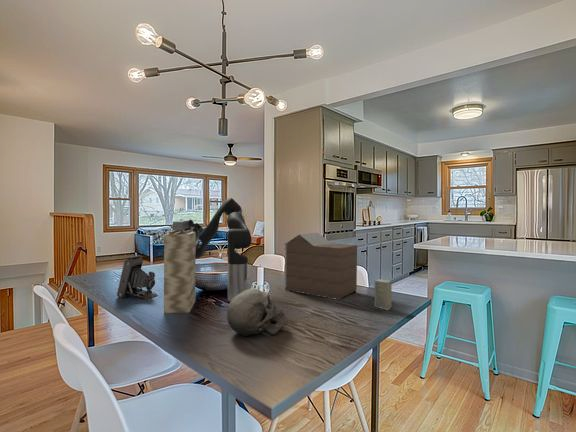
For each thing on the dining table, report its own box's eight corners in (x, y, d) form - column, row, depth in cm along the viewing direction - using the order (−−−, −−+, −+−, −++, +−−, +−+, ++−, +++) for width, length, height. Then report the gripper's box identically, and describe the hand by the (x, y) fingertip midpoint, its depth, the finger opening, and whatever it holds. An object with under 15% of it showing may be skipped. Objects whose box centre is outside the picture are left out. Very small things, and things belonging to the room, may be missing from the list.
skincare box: (391, 308, 138) (392, 280, 138) (387, 311, 135) (387, 282, 135) (378, 305, 142) (378, 278, 142) (373, 307, 139) (374, 280, 139)
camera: (144, 308, 146) (155, 266, 145) (113, 296, 149) (123, 255, 148) (158, 301, 157) (168, 263, 156) (129, 291, 160) (139, 253, 159)
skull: (297, 322, 106) (255, 283, 102) (263, 361, 103) (219, 322, 99) (286, 310, 119) (248, 275, 115) (256, 344, 116) (216, 310, 112)
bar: (191, 227, 154) (191, 220, 154) (181, 230, 129) (181, 221, 129) (184, 227, 154) (184, 220, 154) (172, 230, 128) (172, 221, 128)
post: (195, 301, 146) (195, 229, 145) (189, 312, 130) (190, 231, 129) (172, 301, 144) (172, 229, 144) (163, 313, 128) (164, 231, 128)
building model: (301, 283, 186) (302, 231, 185) (356, 292, 166) (357, 234, 165) (282, 289, 170) (283, 233, 170) (340, 300, 150) (340, 237, 150)
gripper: (177, 230, 163) (170, 213, 148) (205, 230, 165) (201, 214, 151) (175, 243, 160) (168, 228, 145) (204, 243, 162) (200, 228, 147)
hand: (185, 221), depth 148 cm, fingers closed on bar, 3 cm apart
